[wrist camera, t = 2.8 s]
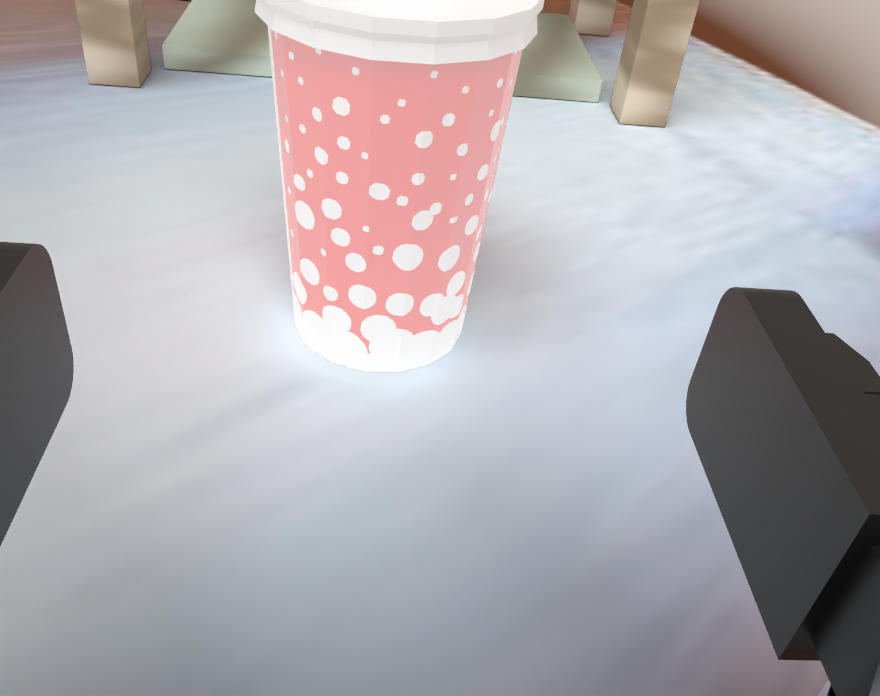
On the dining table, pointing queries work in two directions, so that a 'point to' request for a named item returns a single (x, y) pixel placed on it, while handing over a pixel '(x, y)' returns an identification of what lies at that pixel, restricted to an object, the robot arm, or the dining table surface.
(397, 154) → the beverage cup
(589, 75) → the stand
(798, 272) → the dining table surface
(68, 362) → the robot arm
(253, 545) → the dining table surface
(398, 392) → the dining table surface
